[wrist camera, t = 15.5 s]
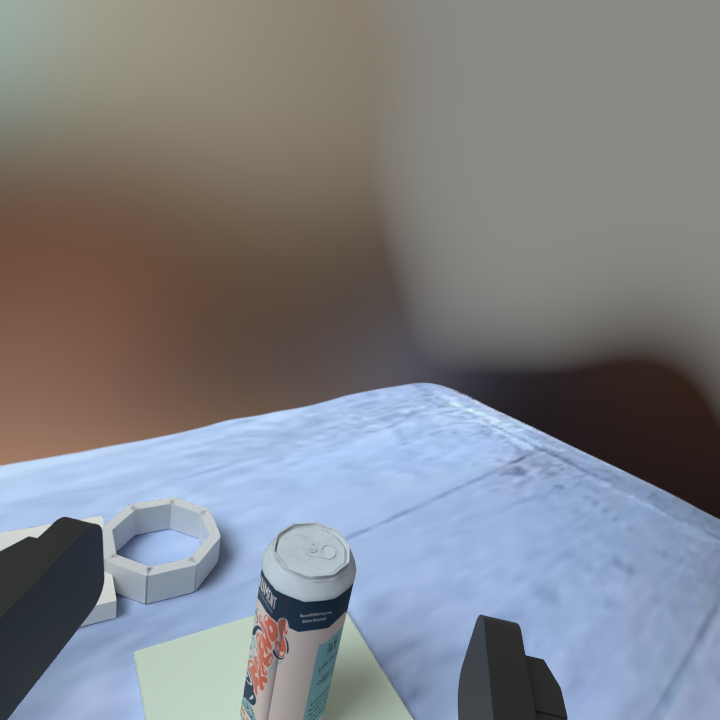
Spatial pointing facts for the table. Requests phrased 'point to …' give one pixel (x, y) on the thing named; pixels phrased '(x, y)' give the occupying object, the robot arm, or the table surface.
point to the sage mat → (228, 674)
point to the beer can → (298, 623)
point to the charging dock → (139, 577)
